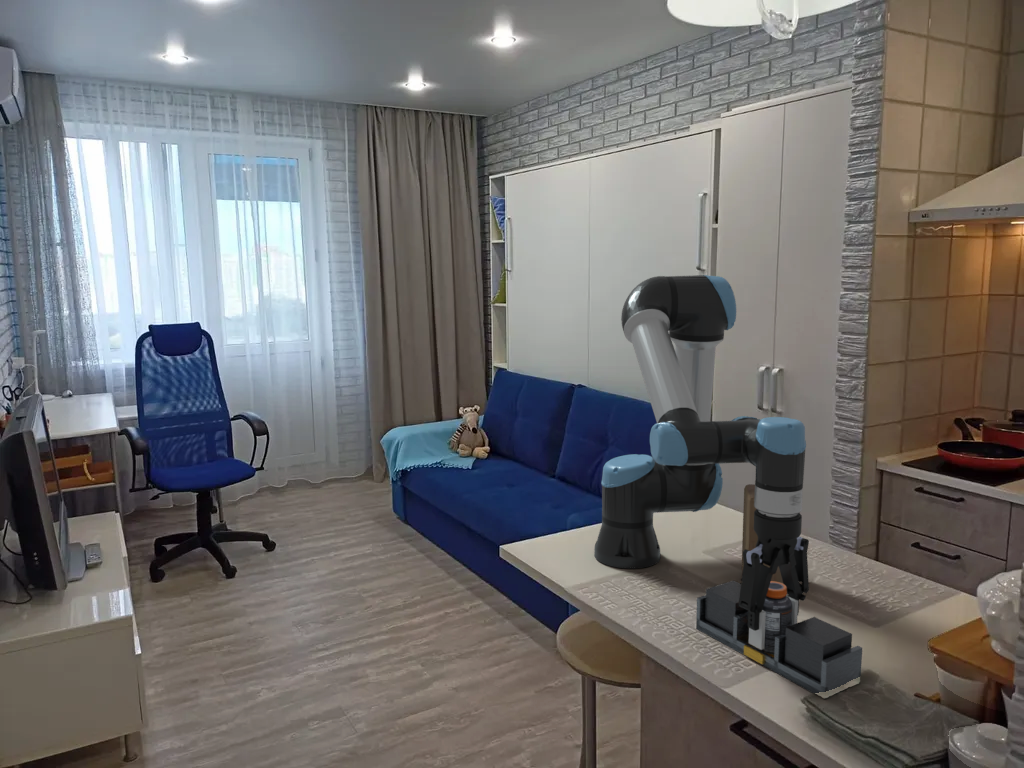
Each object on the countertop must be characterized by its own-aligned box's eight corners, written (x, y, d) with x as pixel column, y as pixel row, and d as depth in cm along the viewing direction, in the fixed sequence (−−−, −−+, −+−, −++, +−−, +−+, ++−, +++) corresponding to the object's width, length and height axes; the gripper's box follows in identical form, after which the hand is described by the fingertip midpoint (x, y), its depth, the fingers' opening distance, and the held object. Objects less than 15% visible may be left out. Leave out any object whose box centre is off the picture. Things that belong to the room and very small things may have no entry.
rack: (694, 629, 136) (695, 588, 135) (730, 617, 141) (731, 577, 139) (822, 700, 113) (825, 651, 112) (860, 683, 117) (863, 635, 116)
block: (796, 593, 151) (801, 498, 148) (745, 589, 153) (748, 496, 150) (788, 574, 160) (792, 484, 158) (740, 571, 162) (743, 482, 160)
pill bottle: (778, 636, 130) (780, 576, 128) (798, 653, 124) (800, 590, 123) (747, 641, 129) (749, 579, 127) (765, 658, 123) (768, 594, 121)
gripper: (753, 528, 115) (748, 665, 118) (836, 506, 125) (830, 633, 128) (717, 515, 121) (713, 646, 125) (799, 495, 131) (793, 616, 135)
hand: (772, 639), depth 126 cm, fingers open, 7 cm apart
